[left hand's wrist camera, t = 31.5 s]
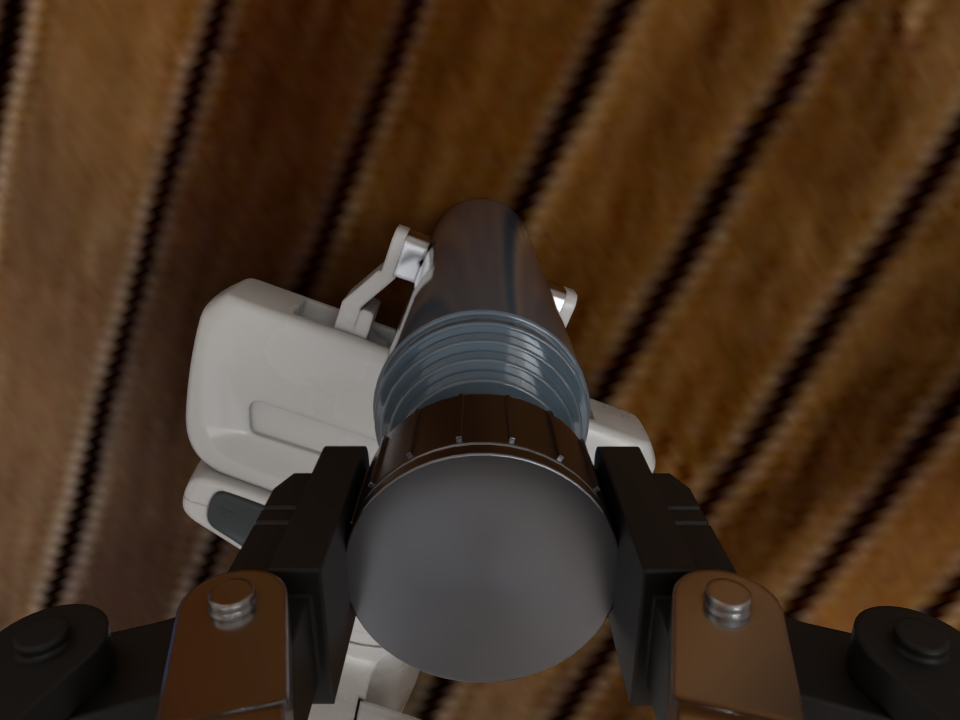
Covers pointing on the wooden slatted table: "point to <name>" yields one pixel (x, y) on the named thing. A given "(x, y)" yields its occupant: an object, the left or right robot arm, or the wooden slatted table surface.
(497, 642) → the cap
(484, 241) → the bottle
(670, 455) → the wooden slatted table surface
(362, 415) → the right robot arm
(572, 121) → the wooden slatted table surface
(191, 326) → the wooden slatted table surface
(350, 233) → the wooden slatted table surface
